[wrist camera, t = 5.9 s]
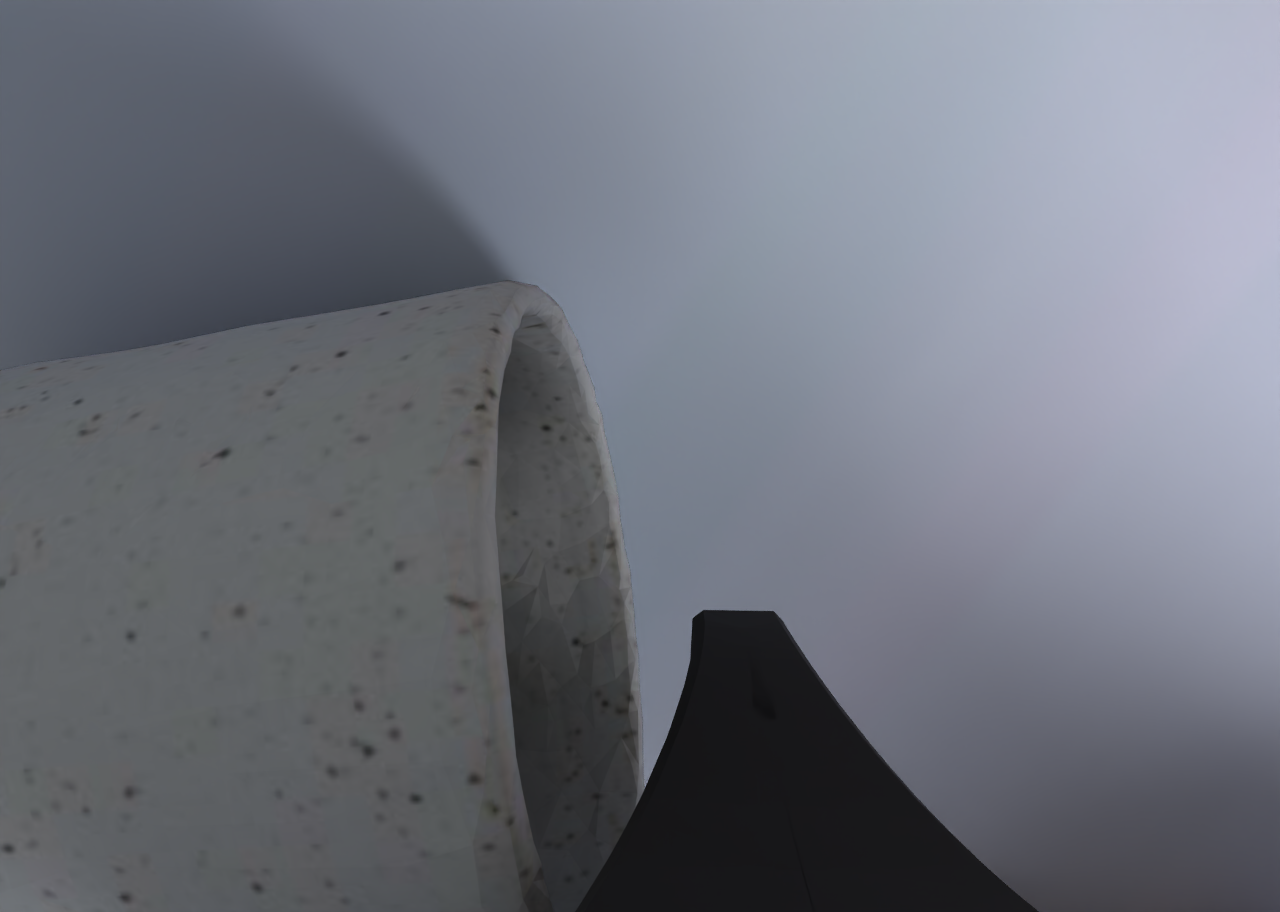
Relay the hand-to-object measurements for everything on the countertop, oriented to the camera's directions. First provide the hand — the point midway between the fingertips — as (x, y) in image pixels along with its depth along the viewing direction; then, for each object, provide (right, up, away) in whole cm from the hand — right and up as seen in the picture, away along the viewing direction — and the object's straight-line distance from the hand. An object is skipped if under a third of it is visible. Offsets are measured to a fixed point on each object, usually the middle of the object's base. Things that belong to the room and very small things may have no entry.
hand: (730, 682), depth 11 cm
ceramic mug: (-5, +1, +4) cm, 6 cm away
